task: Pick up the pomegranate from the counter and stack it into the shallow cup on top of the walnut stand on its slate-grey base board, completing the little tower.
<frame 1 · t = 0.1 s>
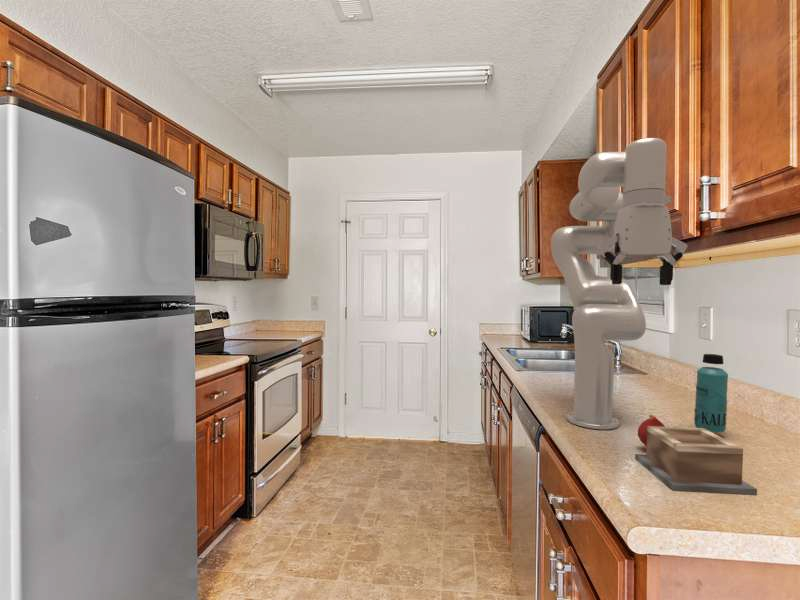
hand: (640, 284, 87), 37 cm above the counter, tool pointing down, fingers open, 9 cm apart
pomegranate: (652, 451, 93), on the counter
stand: (690, 475, 81), on the counter
beverage bottle: (709, 435, 104), on the counter
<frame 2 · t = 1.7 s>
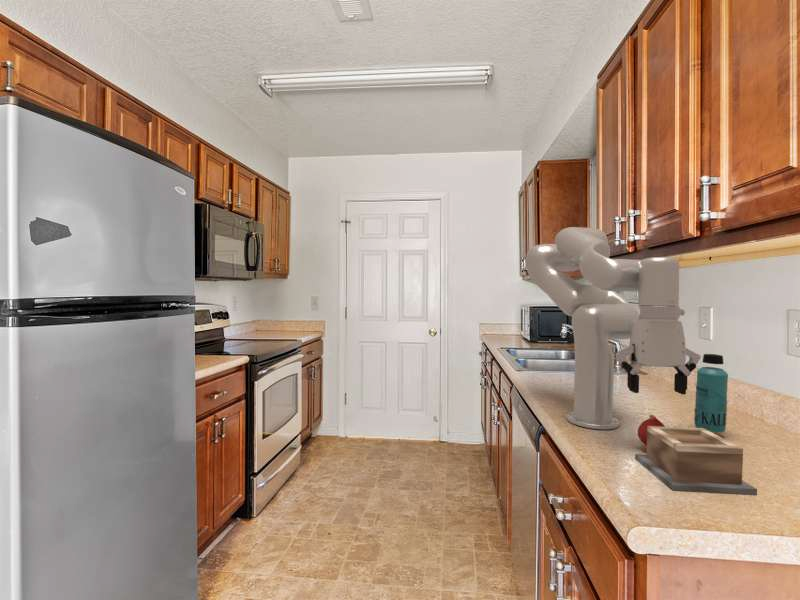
hand: (656, 392, 92), 13 cm above the counter, tool pointing down, fingers open, 9 cm apart
nothing on the counter moved.
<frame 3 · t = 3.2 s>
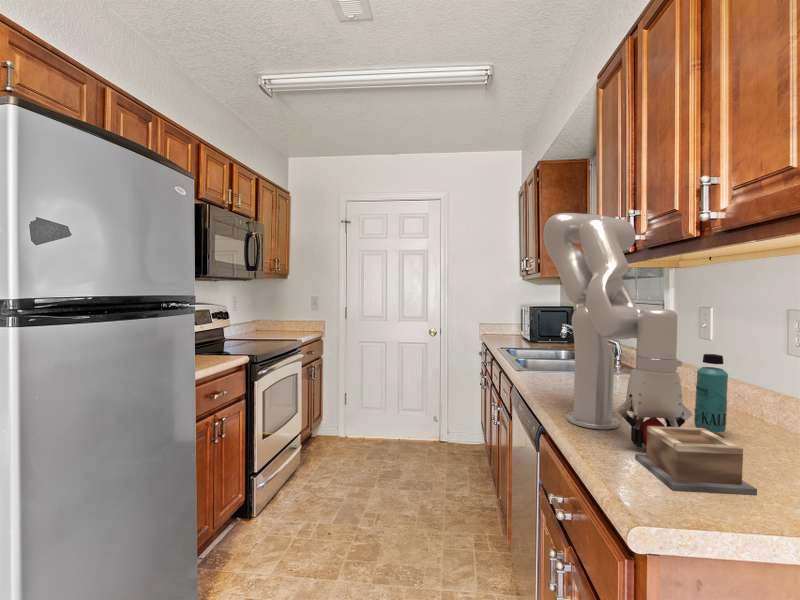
hand: (652, 445, 93), 1 cm above the counter, tool pointing down, fingers closed on pomegranate, 5 cm apart
pomegranate: (652, 451, 93), on the counter, touching gripper
everything else where it was.
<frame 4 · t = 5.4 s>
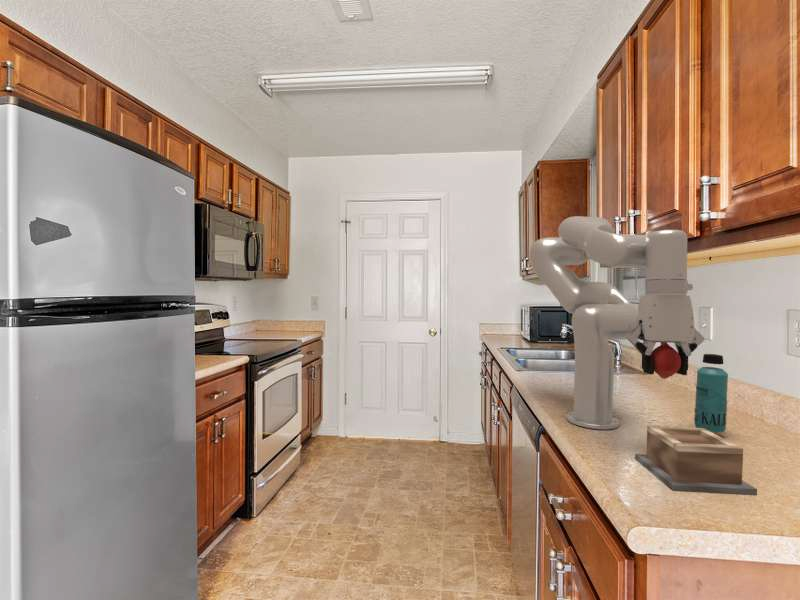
hand: (664, 373, 89), 18 cm above the counter, tool pointing down, fingers closed on pomegranate, 5 cm apart
pomegranate: (664, 379, 89), point 16 cm above the counter, touching gripper
everything else where it was.
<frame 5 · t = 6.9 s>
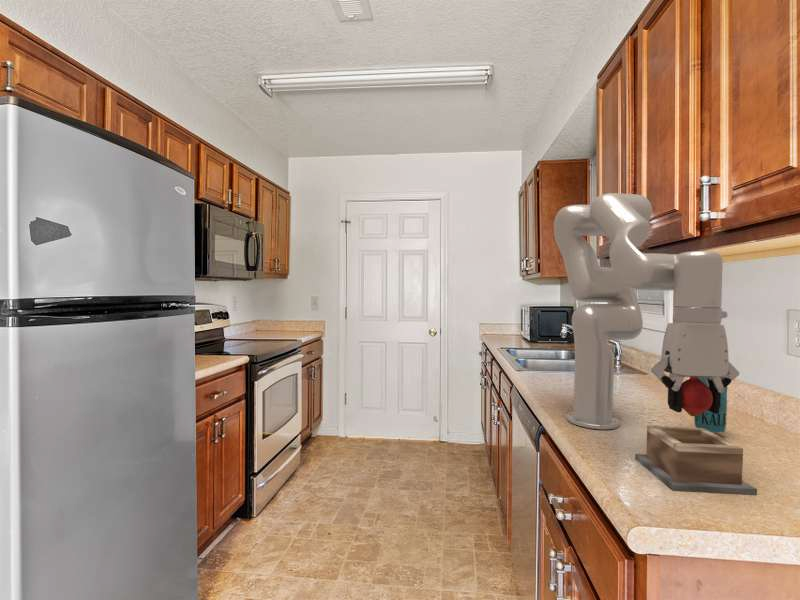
hand: (693, 410, 80), 13 cm above the counter, tool pointing down, fingers closed on pomegranate, 5 cm apart
pomegranate: (693, 417, 80), point 11 cm above the counter, touching gripper
everything else where it was.
when the fingers open (9 cm above the counter, at t = 7.9 s): pomegranate drops 2 cm, resting on stand.
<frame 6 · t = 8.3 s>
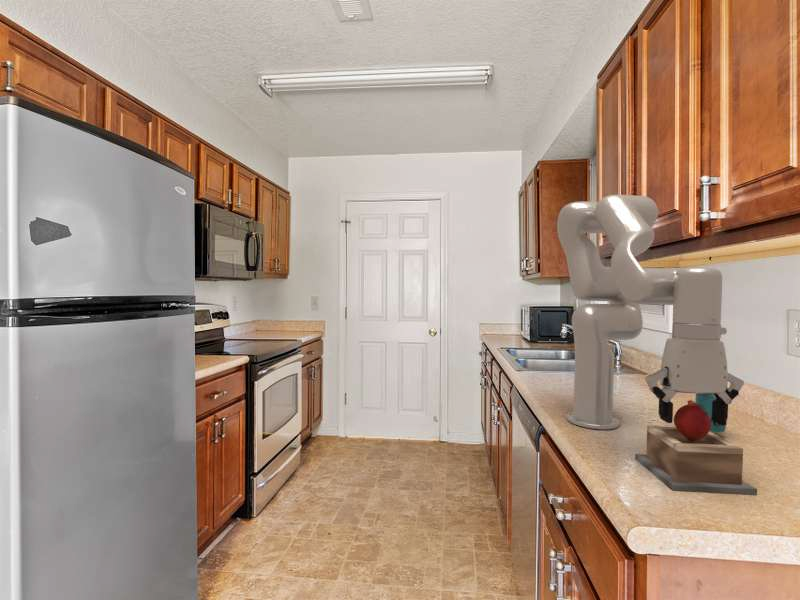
hand: (692, 422, 81), 10 cm above the counter, tool pointing down, fingers open, 9 cm apart
pomegranate: (691, 441, 81), point 6 cm above the counter, touching stand
everything else where it was.
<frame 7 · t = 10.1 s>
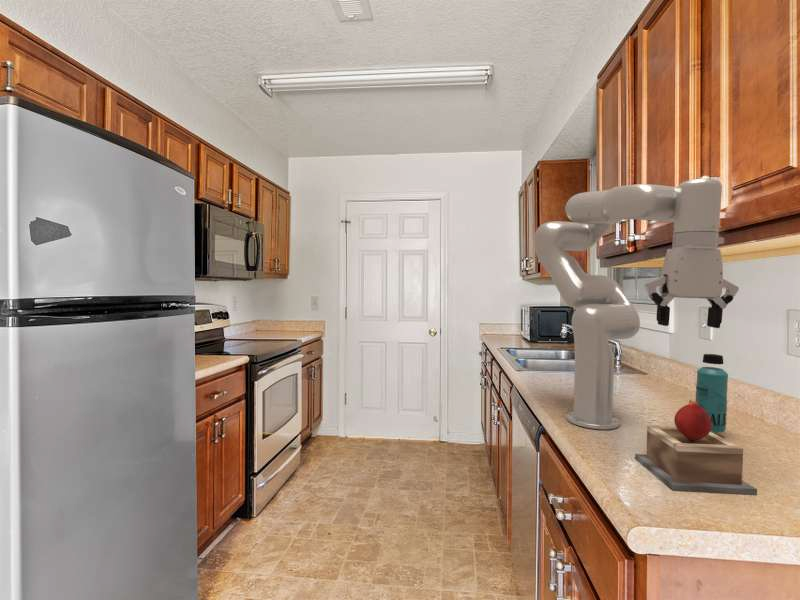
hand: (688, 326, 86), 28 cm above the counter, tool pointing down, fingers open, 9 cm apart
nothing on the counter moved.
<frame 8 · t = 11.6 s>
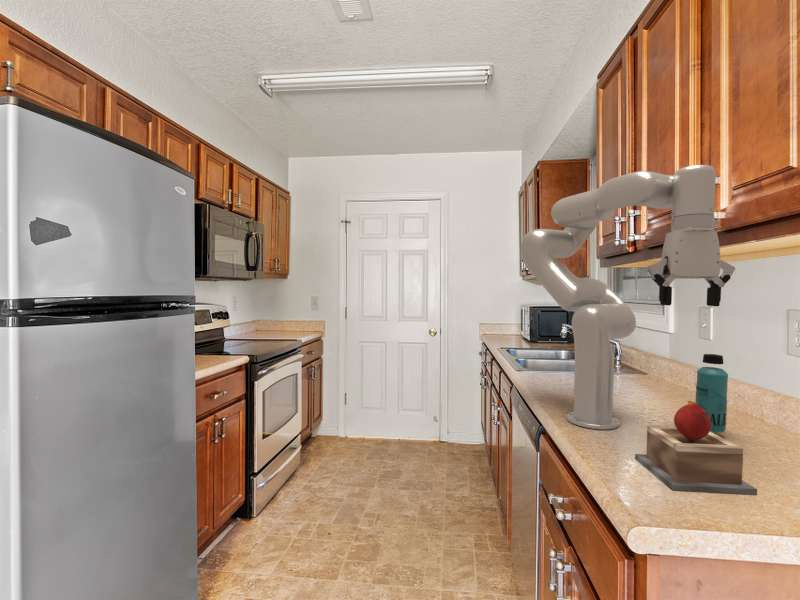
hand: (689, 305, 90), 32 cm above the counter, tool pointing down, fingers open, 9 cm apart
nothing on the counter moved.
at the end: pomegranate 0.1 cm off-centre on the stand, point 6.3 cm above the stand's base; the gripper is holding nothing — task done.
